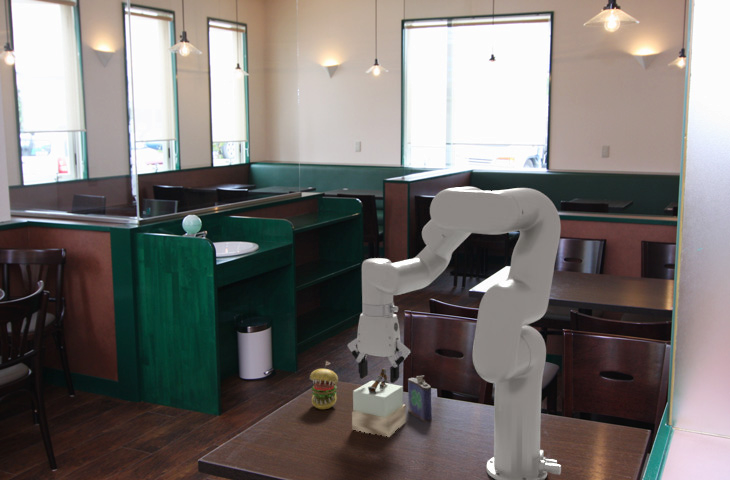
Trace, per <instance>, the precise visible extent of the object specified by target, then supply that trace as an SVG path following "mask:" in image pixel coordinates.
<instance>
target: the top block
mask: <svg viewBox="0 0 730 480" xmlns="http://www.w3.org/2000/svg"><path fill="white" fill-rule="evenodd" d="M374 383H375V380H371V381H368V382H367V383H365V384H363V385H361V386H360V387H357V388H356V389H354V390H352V401H353V402H352V406H353V409H352V410H353V411H358V412H362V413H367V414H371V415H376V416H381V417H386V416H388V415H389V414H391V413H392V412H394V411H395V410H397V409H398V408H400V407H401V406H403V404H404V389H403V388H404V385H397V384H394V383H389V382H388V383H385V384H386V385H384V388H380V384H381V382H380V384H378V386H377V388H376V394H374V393H369V389H368V387H371V386H372V385H373V384H374ZM353 411H352V412H353Z"/></svg>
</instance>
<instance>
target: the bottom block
mask: <svg viewBox="0 0 730 480" xmlns="http://www.w3.org/2000/svg"><path fill="white" fill-rule="evenodd" d="M406 408H407V407H406V404H404V403H403V406H401V407H400V408H398V409H397V410H395V411H394V412H392V413H391V414H389V415H388V416H386V417H381V416H376V415H371V414H367V413H362V412H358V411H351V427H352V429H351V430H352V431H353V430H356V431H355V432H359V431H361V432H360V433H364V432H365V434H369V433H371V435H375V434H377V435H376V436H380V435H382V436H381V437H386V436H387V438H390V437H392V436H393V434H394V433H396V432H397V431H398V430H399V429H400V428H402V426H403V425H405V424H406V423H407V420H406V419H407V411H406V410H407V409H406ZM398 428H399V429H398ZM397 429H398V430H397ZM396 430H397V431H396ZM395 431H396V432H395Z"/></svg>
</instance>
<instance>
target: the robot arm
mask: <svg viewBox="0 0 730 480" xmlns="http://www.w3.org/2000/svg"><path fill="white" fill-rule="evenodd" d="M429 215H430V220H429V221H428V222H427V223H426V224H425V225H424V226H423V228H422V231H421V237H422V240H423V242H424V244H425V245H426V246H425V247H424V248H422V250H421V251H420V252H419V253H418V254H417V255H416V256H415V257H413V258H409V259H404V260H399V261H396V262H392V261H391V260H390V259H388V258H381V257H380V258H379V257H377V258H376V257H374V258H372V257H371V258H368V259H364V260H363V261H362V264H361V296H362V301H361V302H362V303H361V304H362V312H361V313H360V315H359V319H358V326H357V336H356V338H354V339H353V340H351V341H350V342H348V344H347V345H346V346H347V348H348V349H349V351H350V352H351V355H352V356H353V358H355V360H356V363H358V364H357V365H358V374H359V379H364V378H365V377H367V376H368V374H369V373H368V372H369V371H368V360H367V359H366V358H367V357H368V355H369V356H375V357H381V358H382V357H383V358H387V359H388V360H389V363H390V364H391V367H390V368H389V374H390V376H389V377H390V381H389V382H390V384H394V383H396V382H397V381H398V380H399V378H400V365H401V364H402V363H403V362H404V361H405V360H406V359H407V358H408V356H409V355H410V354H411V349H410V348H408V347H407V346H406V345H405V344H404V343H402V341H401V333H400V332H401V331H400V324H399V320H398V315H397V314H395V313H398V311H399V306H396V305H395V302H394V296H398V295H400V296H401V295H402V294H406V293H411V292H414V291H417V290H418V291H419V290H421V289H424V288H426V287H428V286H429V285H431V283H433V282H434V281H435V280H436V279H437V278H438V277H439V276H440V275H441V274H442V273H444V271H445V270H446V269H447V267H448V265H449V264H450V261H451V259H452V255H453V253H454V251H455V250H456V249H457V248H458V247H460V245H461V244H462V243H464V241H465V240H466V239H467V238H468V237H469V236H470V235H471V234H481V235H503V234H507V233H508V234H509V233H514V232H518V231H519V237H518V240H517V242H516V244H515V246H514V248H513V250H512V251H513V252H512V255H511V260H510V267H509V271H508V275H507V278H506V280H504V281H502V282H501V281H500V282H499V283H496V284H494V285H492V286H491V287H489V288H488V289H487V290H486V291H485V293H484V295H483V296H482V298H481V300H480V303H479V307H478V313H477V319H476V327H475V332H474V337H473V344H472V363H473V366H474V369H475V371H476V373H477V374H478V375H479V377H480V378H481V379H483V381H485V382H487V383H491V384H495V385H494V398H493V400H494V401H493V402H494V403H493V404H494V405H493V408H494V409H493V410H494V411H493V425H494V426H493V457H491V458H490V459H489V460H487V462H486V467H485V468H486V472H487V474H488V475H489V477H491V478H492V479H494V480H546V478H547V476H548V473H550V474H554V475H561V473H562V465H561V464H558V460H557V459H553V458H550V459H549V458H547V457H546V456H544V452H545V451H544V450H543V449H541V423H542V422H541V420H542V417H541V415H542V413H541V412H542V408H541V407H542V383H543V376H544V370H545V365H546V358H547V346H546V342H545V339H544V338H543V335H542V334H541V333H540V332H539V331H538V330H537V329H536V328H534V327H532V326H531V325H530V324H532V323H535V322H537V321H539V320H541V318H543V317H544V315H545V314H546V312H547V311H548V306H549V301H550V295H551V288H552V283H553V276H554V270H555V263H556V258H557V253H558V250H559V249H558V248H559V243H560V239H561V227H562V226H561V218H560V215H559V212H558V209H557V208H556V206H555V204H554V203H553V201H552V200H551V199H550V198H549V197H548V196H547V195H545V194H544V193H542V192H541V191H539V190H537V189H534V188H530V187H529V188H528V187H516V188H509V189H500V190H492V191H491V190H482V189H480V188H478V187H475V186H461V187H450V188H446V189H443V190H441V191H439V192H438V193H436V195H435V196H434V197H433V198H432V201H431V203H430V206H429ZM356 345H357V346H356ZM400 352H401V355H400V356H399V355H398V353H400Z"/></svg>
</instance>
